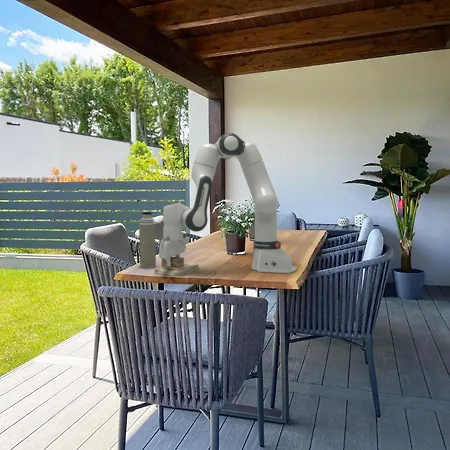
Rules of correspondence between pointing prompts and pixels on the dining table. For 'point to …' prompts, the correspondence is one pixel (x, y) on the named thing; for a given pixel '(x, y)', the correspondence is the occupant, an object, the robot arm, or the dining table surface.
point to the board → (181, 272)
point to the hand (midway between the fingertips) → (173, 264)
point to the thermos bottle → (147, 241)
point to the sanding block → (173, 263)
